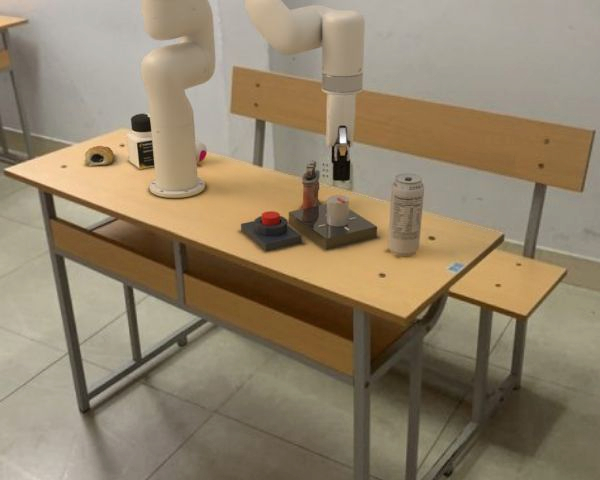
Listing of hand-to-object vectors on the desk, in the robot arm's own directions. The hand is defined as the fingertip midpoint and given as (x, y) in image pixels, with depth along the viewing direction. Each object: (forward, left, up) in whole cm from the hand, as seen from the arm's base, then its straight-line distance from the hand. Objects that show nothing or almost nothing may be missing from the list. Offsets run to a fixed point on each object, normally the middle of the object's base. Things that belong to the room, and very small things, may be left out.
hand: (340, 171), depth 151 cm
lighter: (-14, +2, -14) cm, 20 cm away
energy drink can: (+13, +7, -14) cm, 20 cm away
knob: (0, 0, -11) cm, 11 cm away
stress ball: (-53, -9, -14) cm, 56 cm away
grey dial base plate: (-2, 0, -13) cm, 14 cm away
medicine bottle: (-59, -19, -14) cm, 64 cm away
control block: (-5, -13, -13) cm, 19 cm away
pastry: (-66, -29, -14) cm, 74 cm away
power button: (-5, -13, -10) cm, 17 cm away
